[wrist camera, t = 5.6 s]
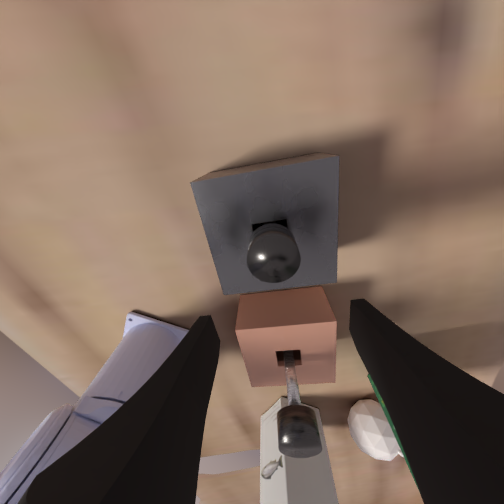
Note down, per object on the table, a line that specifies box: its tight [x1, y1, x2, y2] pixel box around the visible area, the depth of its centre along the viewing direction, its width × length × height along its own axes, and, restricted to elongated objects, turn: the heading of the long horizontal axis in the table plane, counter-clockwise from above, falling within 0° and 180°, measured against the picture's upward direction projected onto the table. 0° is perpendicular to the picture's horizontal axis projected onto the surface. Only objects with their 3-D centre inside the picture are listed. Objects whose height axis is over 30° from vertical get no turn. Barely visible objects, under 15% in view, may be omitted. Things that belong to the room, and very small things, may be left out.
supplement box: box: [260, 397, 339, 504], centre depth 29 cm, size 7×7×13 cm
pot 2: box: [235, 286, 337, 387], centre depth 22 cm, size 9×9×5 cm
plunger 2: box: [277, 350, 322, 458], centre depth 18 cm, size 3×3×8 cm
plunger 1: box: [247, 221, 301, 283], centre depth 15 cm, size 3×3×8 cm
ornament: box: [347, 399, 404, 461], centre depth 29 cm, size 6×7×7 cm
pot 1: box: [190, 153, 339, 295], centre depth 16 cm, size 9×9×5 cm
